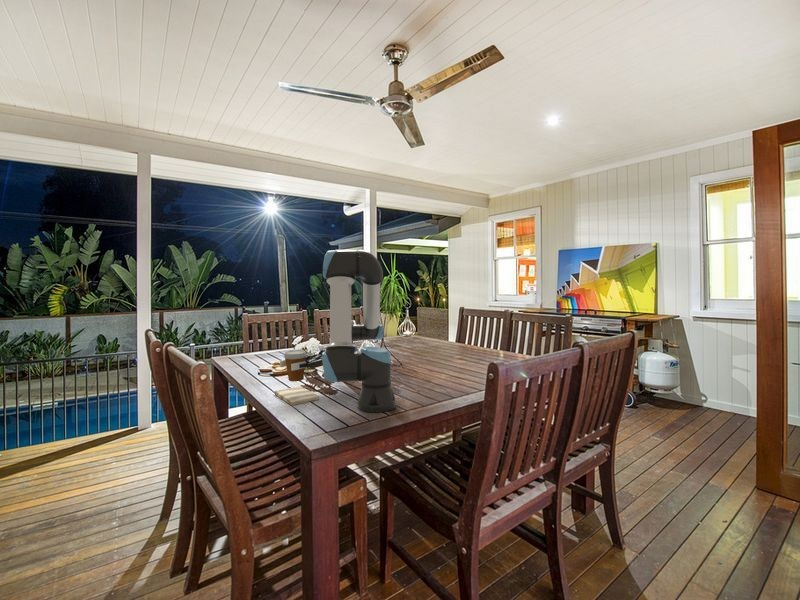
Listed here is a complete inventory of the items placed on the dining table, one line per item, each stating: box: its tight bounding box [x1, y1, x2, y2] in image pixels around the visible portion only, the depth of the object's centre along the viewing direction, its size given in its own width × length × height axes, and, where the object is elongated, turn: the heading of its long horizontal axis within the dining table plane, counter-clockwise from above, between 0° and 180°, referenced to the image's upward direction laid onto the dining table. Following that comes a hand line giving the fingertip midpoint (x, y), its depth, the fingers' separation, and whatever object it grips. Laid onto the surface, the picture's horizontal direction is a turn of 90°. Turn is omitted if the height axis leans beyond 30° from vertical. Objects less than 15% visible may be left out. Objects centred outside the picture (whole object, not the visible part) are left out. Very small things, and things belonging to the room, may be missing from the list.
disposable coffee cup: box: [283, 349, 308, 382], centre depth 164 cm, size 10×10×12 cm
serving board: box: [274, 385, 320, 406], centre depth 164 cm, size 19×12×2 cm, turn 38°
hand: (285, 365), depth 160 cm, fingers closed on disposable coffee cup, 8 cm apart
